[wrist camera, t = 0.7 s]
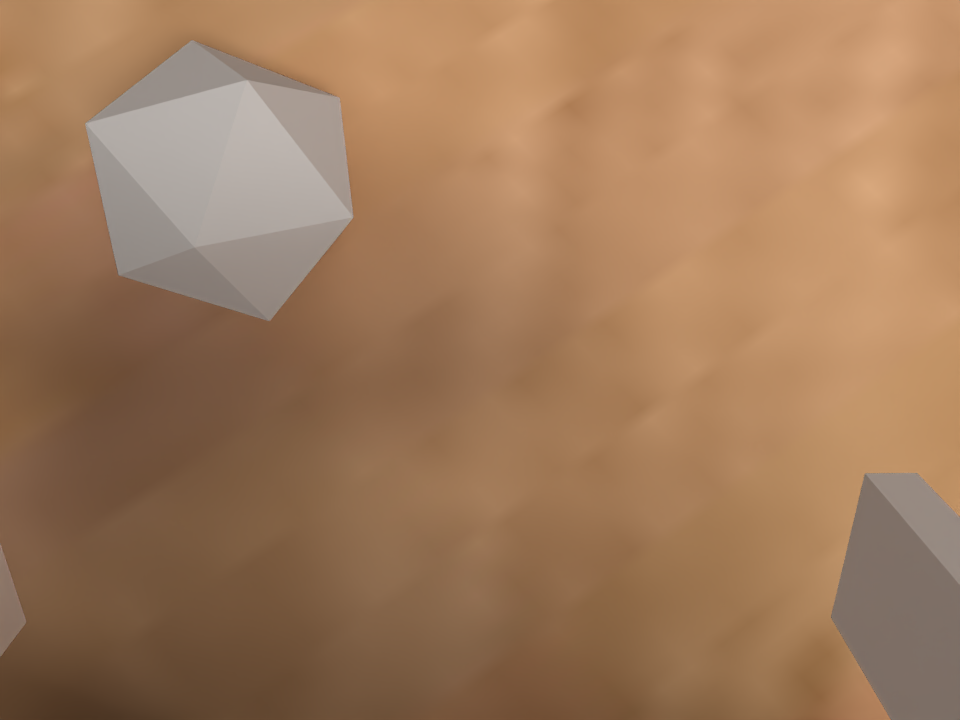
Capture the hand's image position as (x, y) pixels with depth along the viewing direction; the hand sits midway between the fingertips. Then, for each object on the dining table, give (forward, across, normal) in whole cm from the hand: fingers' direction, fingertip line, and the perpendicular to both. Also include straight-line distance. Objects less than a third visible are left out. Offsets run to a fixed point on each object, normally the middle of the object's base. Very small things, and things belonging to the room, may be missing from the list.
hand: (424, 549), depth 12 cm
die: (+20, +7, -1) cm, 21 cm away
